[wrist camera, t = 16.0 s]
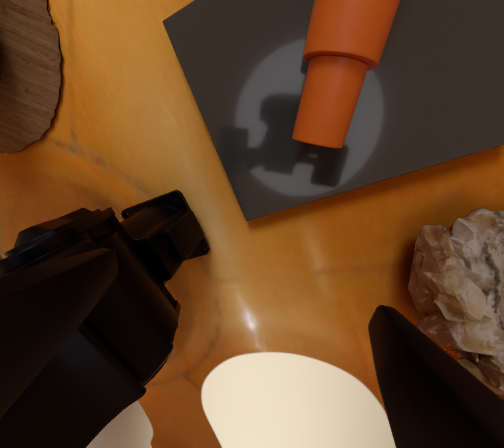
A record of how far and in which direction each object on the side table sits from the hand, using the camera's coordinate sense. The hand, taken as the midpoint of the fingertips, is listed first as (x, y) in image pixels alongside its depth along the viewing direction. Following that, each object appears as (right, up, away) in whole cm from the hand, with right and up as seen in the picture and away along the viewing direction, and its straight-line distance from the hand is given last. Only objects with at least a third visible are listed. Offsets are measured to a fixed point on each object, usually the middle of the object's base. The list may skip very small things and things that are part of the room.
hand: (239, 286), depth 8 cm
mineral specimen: (+18, -4, +12) cm, 22 cm away
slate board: (+6, +11, +7) cm, 15 cm away
